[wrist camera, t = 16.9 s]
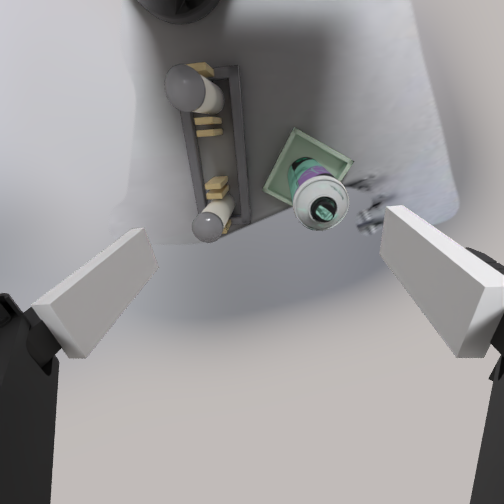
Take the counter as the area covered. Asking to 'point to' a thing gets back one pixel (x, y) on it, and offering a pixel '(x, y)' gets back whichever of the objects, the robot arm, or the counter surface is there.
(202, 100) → the fuse
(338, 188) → the spray can
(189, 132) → the fuse frame
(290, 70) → the counter surface
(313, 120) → the counter surface
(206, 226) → the fuse
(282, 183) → the tray
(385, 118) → the counter surface
